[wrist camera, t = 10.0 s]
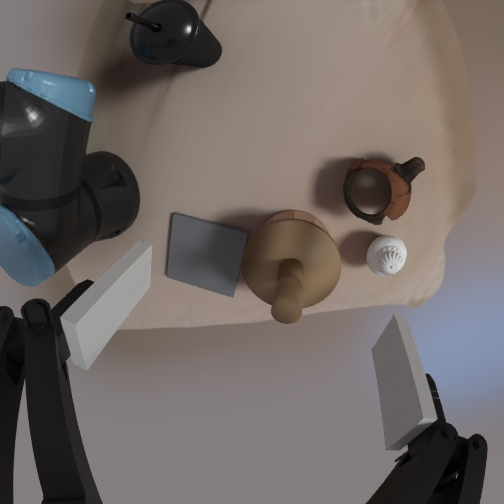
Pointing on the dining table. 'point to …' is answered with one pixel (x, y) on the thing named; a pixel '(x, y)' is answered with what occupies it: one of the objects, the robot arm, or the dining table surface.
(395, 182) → the pottery mug
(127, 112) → the dining table surface
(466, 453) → the robot arm
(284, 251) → the walnut lid
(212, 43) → the drinking cup
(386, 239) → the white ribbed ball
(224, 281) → the grey mat
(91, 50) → the dining table surface
